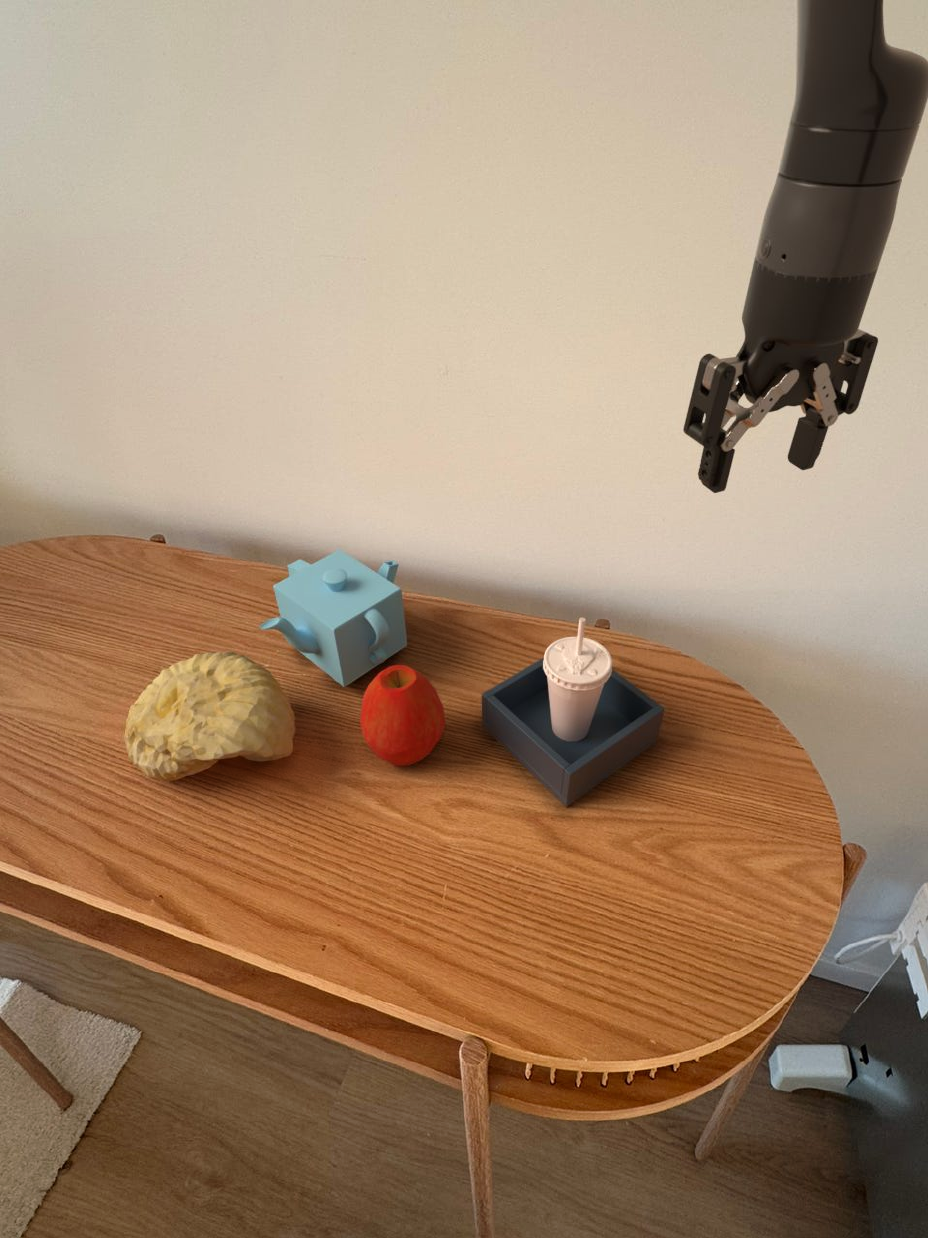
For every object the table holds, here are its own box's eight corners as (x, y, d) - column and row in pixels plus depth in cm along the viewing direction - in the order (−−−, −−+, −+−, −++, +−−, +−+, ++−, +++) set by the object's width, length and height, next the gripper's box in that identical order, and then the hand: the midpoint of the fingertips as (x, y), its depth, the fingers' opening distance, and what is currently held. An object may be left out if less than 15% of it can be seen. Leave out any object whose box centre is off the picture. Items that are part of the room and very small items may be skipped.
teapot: (445, 646, 85) (441, 569, 77) (321, 733, 75) (302, 654, 68) (359, 588, 93) (348, 513, 86) (237, 660, 84) (213, 583, 76)
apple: (463, 746, 74) (460, 671, 67) (401, 795, 69) (391, 720, 62) (409, 704, 78) (401, 629, 71) (348, 747, 74) (333, 673, 67)
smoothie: (603, 708, 76) (619, 604, 67) (600, 756, 71) (617, 652, 62) (541, 700, 77) (549, 597, 68) (535, 748, 72) (542, 643, 63)
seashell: (246, 694, 83) (107, 739, 74) (245, 614, 77) (94, 653, 68) (322, 787, 73) (171, 853, 64) (327, 704, 67) (163, 763, 58)
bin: (657, 741, 74) (665, 708, 70) (566, 808, 68) (570, 774, 65) (570, 672, 81) (573, 639, 78) (481, 726, 76) (481, 693, 72)
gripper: (767, 286, 43) (711, 520, 53) (947, 255, 47) (862, 479, 57) (690, 255, 48) (653, 473, 59) (857, 229, 52) (794, 438, 62)
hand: (756, 476), depth 58 cm, fingers open, 8 cm apart
